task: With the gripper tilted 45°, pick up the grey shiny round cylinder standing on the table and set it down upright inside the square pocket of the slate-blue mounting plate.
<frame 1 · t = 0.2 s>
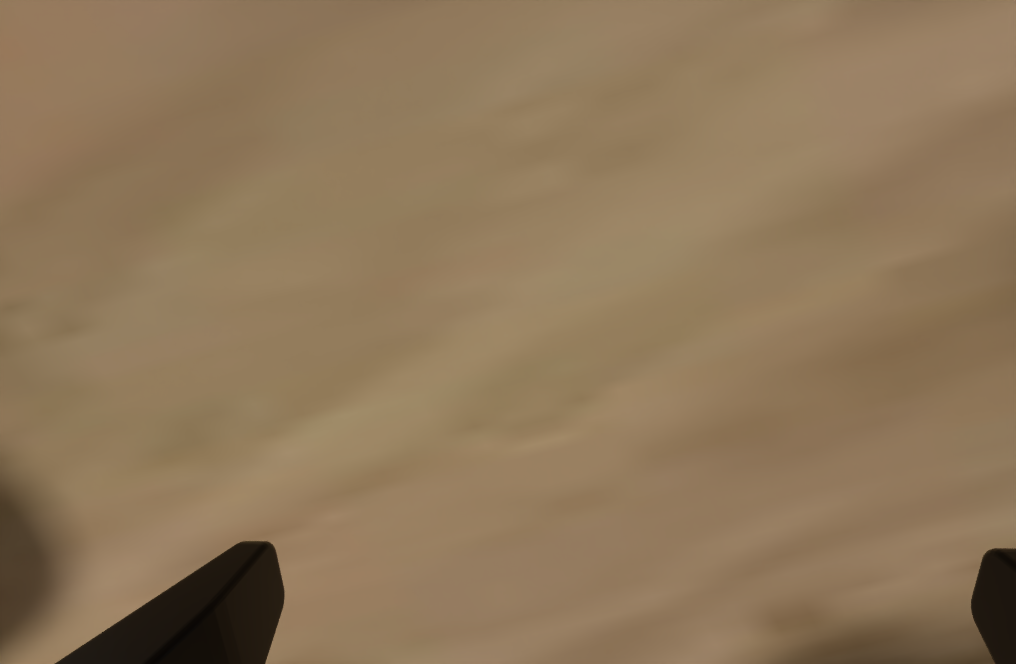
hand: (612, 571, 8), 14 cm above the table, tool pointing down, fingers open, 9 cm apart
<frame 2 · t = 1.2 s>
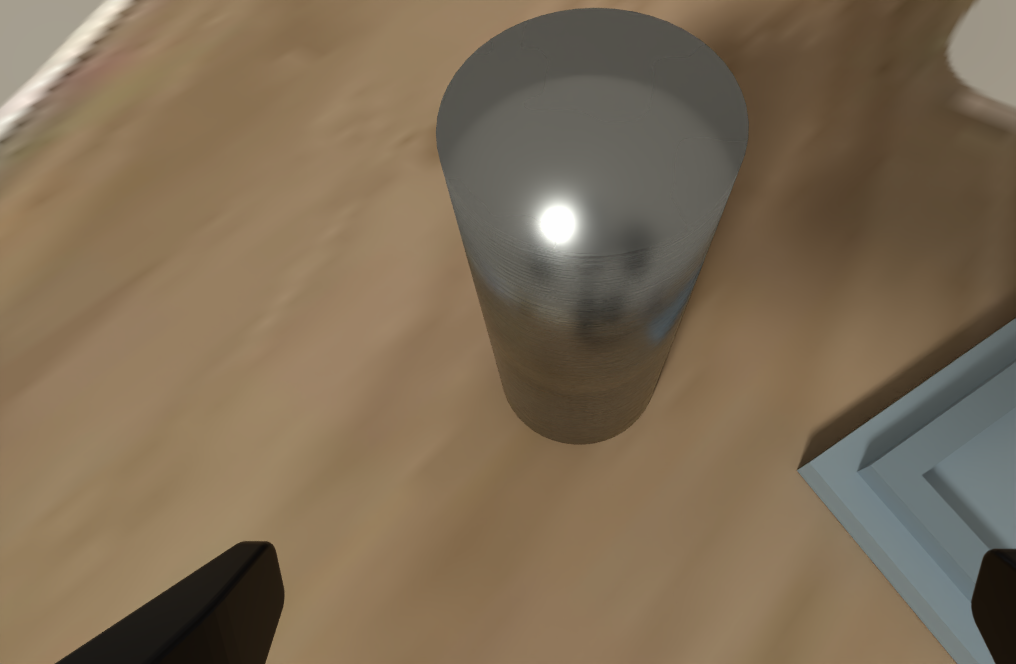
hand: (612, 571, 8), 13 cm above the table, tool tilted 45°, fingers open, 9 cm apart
grey shiny round cylinder: (577, 368, 24), on the table
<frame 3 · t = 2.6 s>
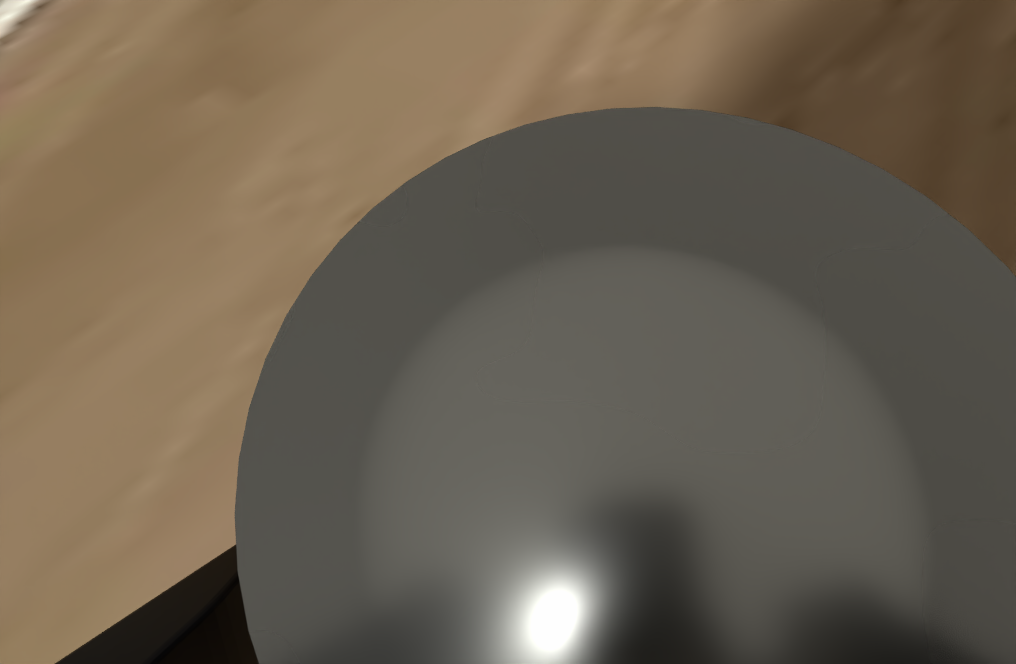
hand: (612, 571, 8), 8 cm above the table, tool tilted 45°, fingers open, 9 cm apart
grey shiny round cylinder: (589, 573, 16), on the table
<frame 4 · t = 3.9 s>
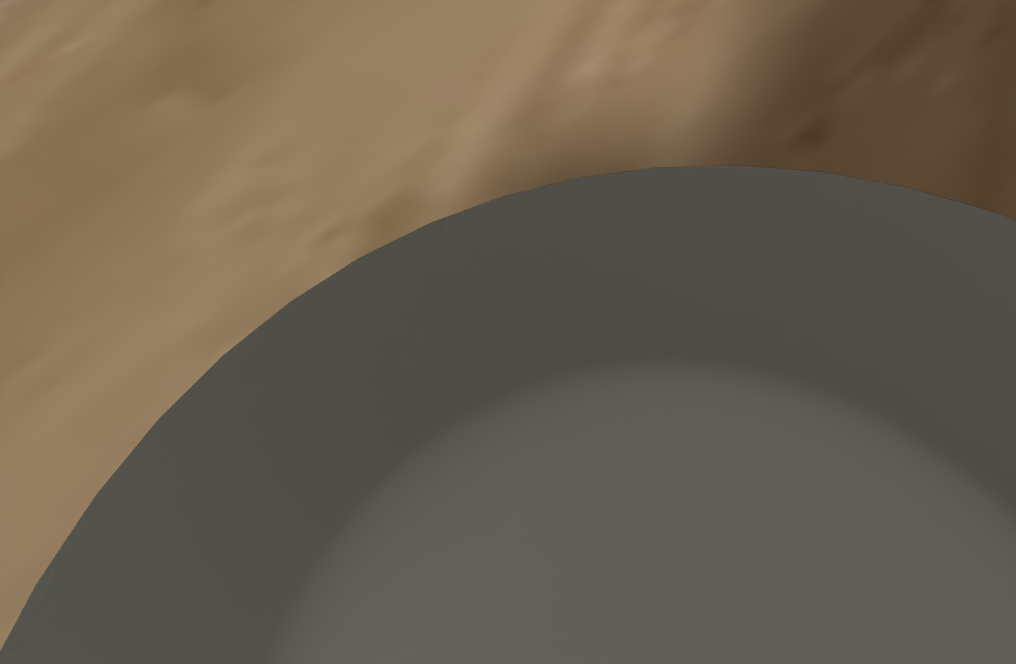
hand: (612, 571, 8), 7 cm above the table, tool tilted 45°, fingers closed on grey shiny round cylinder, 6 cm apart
grey shiny round cylinder: (595, 660, 14), on the table, touching gripper
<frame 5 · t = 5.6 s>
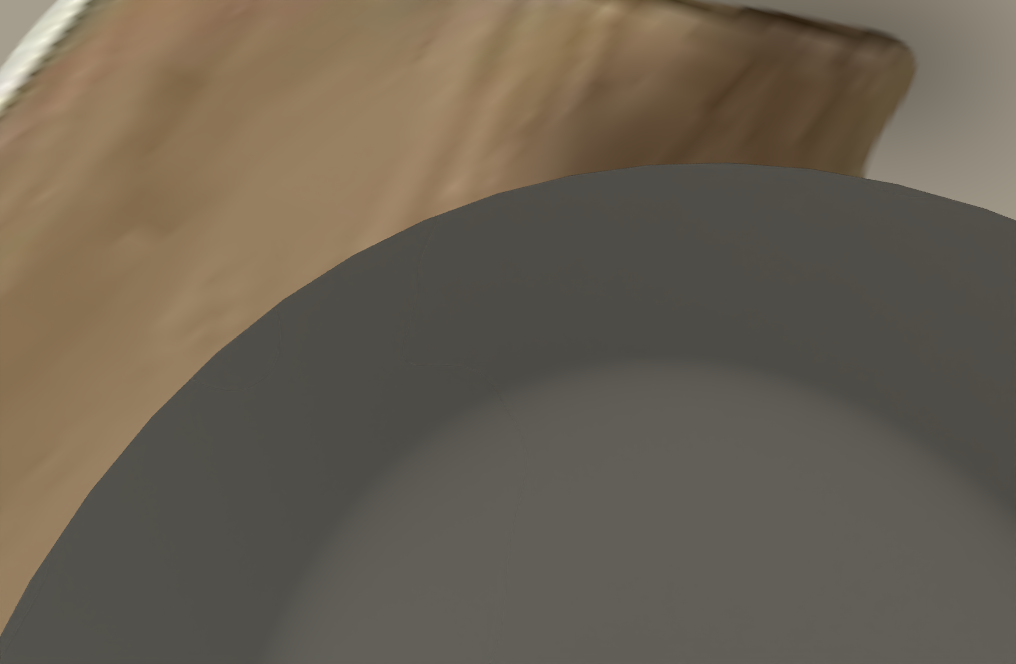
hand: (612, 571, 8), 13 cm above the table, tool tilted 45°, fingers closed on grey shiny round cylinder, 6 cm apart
grey shiny round cylinder: (594, 658, 14), point 6 cm above the table, touching gripper
when the fingers open (9 cm above the table, at t = 7.8 s): grey shiny round cylinder stays where it is, resting on mounting plate.
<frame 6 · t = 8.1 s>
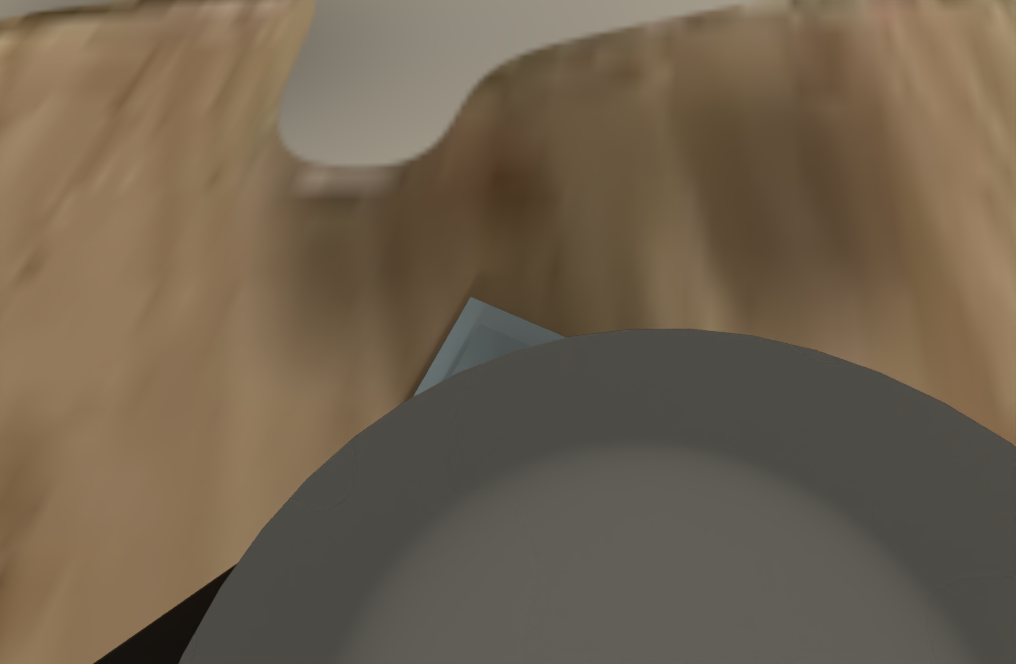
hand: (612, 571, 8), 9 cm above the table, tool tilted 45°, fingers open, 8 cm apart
grey shiny round cylinder: (593, 663, 15), point 1 cm above the table, touching mounting plate
mounting plate: (591, 653, 16), on the table
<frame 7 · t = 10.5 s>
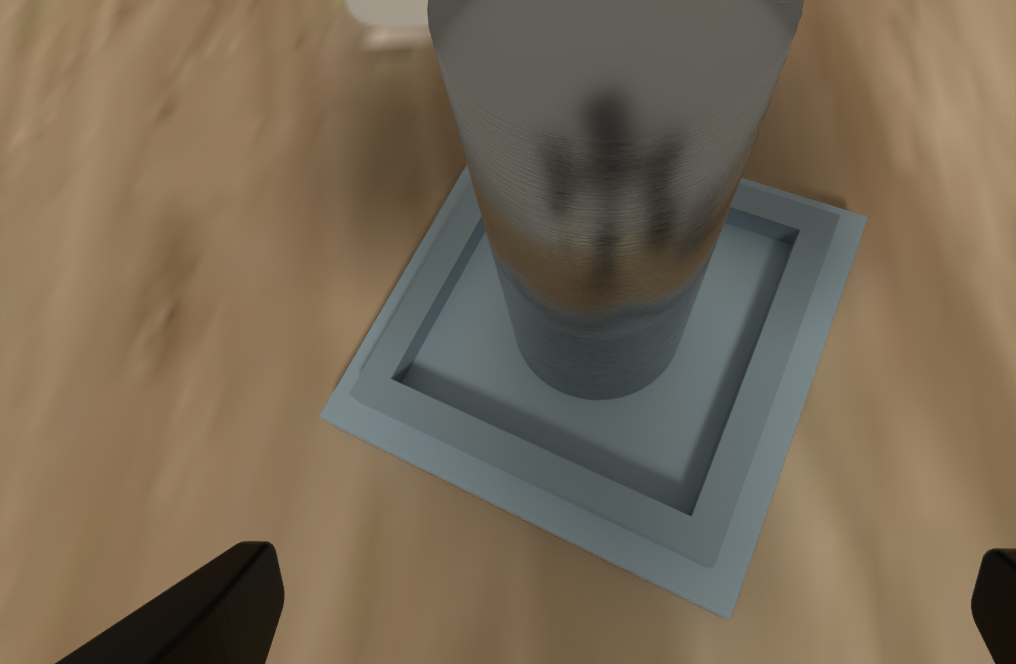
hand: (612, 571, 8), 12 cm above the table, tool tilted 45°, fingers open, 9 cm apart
grey shiny round cylinder: (596, 319, 22), point 1 cm above the table, touching mounting plate
mounting plate: (596, 329, 23), on the table
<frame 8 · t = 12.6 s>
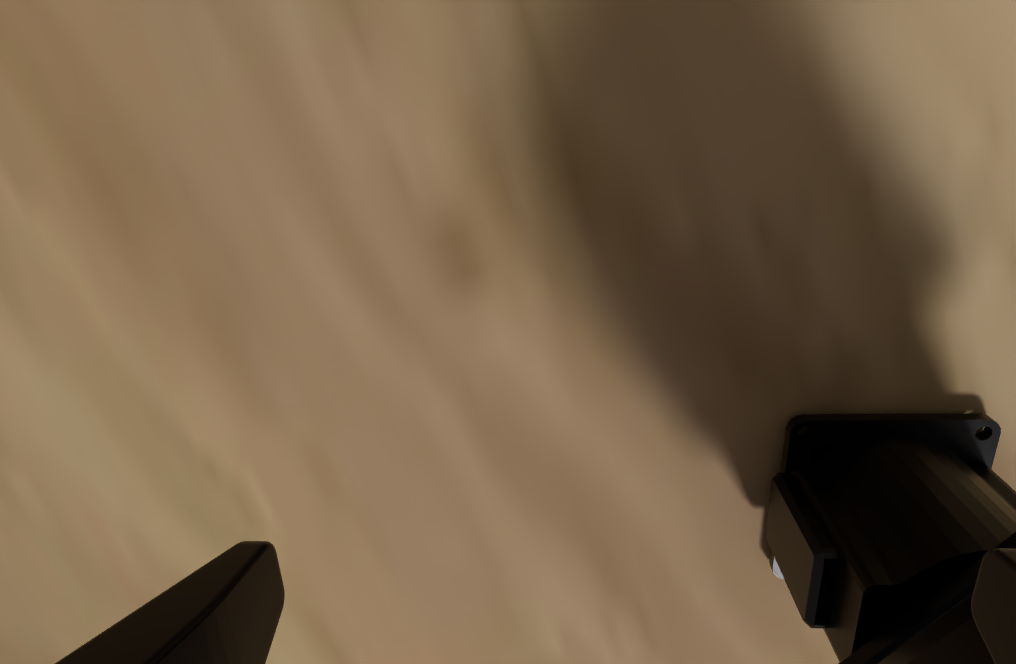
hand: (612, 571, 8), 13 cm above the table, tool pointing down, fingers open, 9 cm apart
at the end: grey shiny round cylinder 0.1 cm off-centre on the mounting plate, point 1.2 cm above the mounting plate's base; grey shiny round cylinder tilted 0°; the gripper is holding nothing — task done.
